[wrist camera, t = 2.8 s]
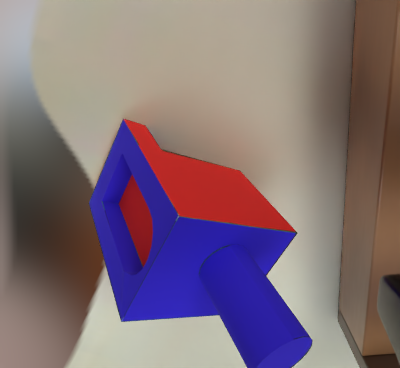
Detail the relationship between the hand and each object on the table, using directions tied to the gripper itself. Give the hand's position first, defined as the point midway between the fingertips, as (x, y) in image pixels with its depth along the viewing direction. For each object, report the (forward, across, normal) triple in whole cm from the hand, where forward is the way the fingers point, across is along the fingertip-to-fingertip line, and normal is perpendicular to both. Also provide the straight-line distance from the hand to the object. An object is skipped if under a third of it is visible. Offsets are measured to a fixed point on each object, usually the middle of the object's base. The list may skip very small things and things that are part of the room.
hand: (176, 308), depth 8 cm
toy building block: (+6, 0, 0) cm, 6 cm away
